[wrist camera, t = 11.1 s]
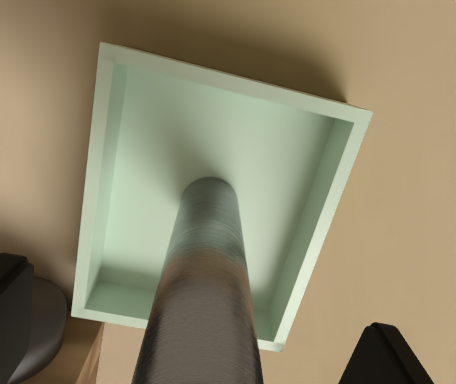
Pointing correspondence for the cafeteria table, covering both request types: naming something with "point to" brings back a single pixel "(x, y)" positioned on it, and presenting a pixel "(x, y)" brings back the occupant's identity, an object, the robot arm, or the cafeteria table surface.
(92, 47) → the cafeteria table surface
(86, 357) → the block
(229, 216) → the lock pin
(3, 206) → the cafeteria table surface
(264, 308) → the tray
